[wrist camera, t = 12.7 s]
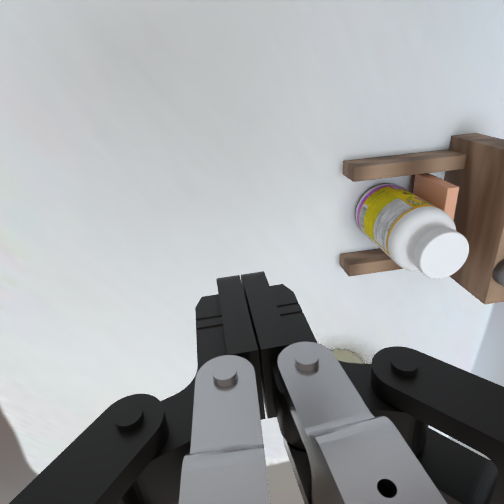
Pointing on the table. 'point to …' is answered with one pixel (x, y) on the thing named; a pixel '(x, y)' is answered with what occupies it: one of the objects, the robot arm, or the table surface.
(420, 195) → the plate
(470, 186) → the cradle
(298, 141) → the table surface
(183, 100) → the table surface
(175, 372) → the table surface
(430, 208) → the supplement bottle
